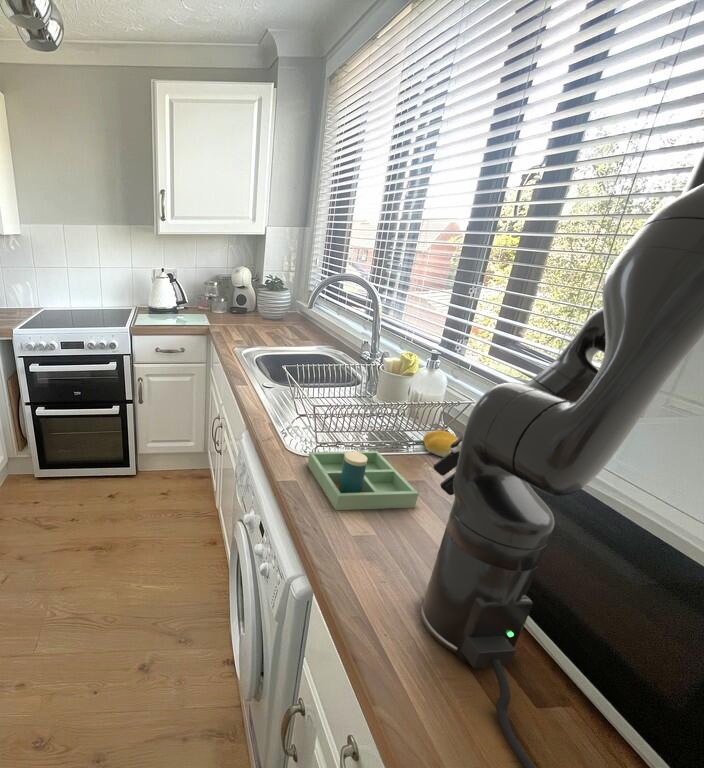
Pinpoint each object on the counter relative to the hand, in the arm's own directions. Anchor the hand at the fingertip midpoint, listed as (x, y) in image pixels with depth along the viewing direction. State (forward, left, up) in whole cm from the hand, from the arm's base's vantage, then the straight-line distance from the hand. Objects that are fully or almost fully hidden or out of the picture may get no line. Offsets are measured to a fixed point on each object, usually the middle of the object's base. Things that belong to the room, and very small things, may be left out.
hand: (440, 480), depth 70 cm
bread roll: (+25, -19, -9) cm, 33 cm away
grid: (+12, +8, -9) cm, 17 cm away
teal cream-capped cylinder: (+8, +11, -8) cm, 16 cm away
